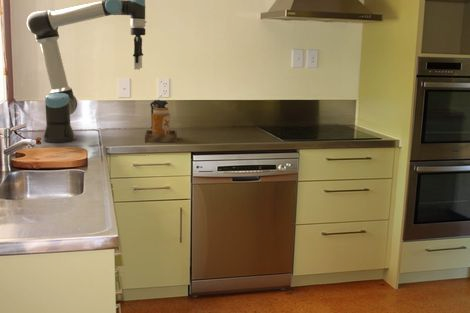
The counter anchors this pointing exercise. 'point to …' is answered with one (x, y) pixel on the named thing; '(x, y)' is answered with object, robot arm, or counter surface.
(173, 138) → the cradle
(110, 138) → the counter surface
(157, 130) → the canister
